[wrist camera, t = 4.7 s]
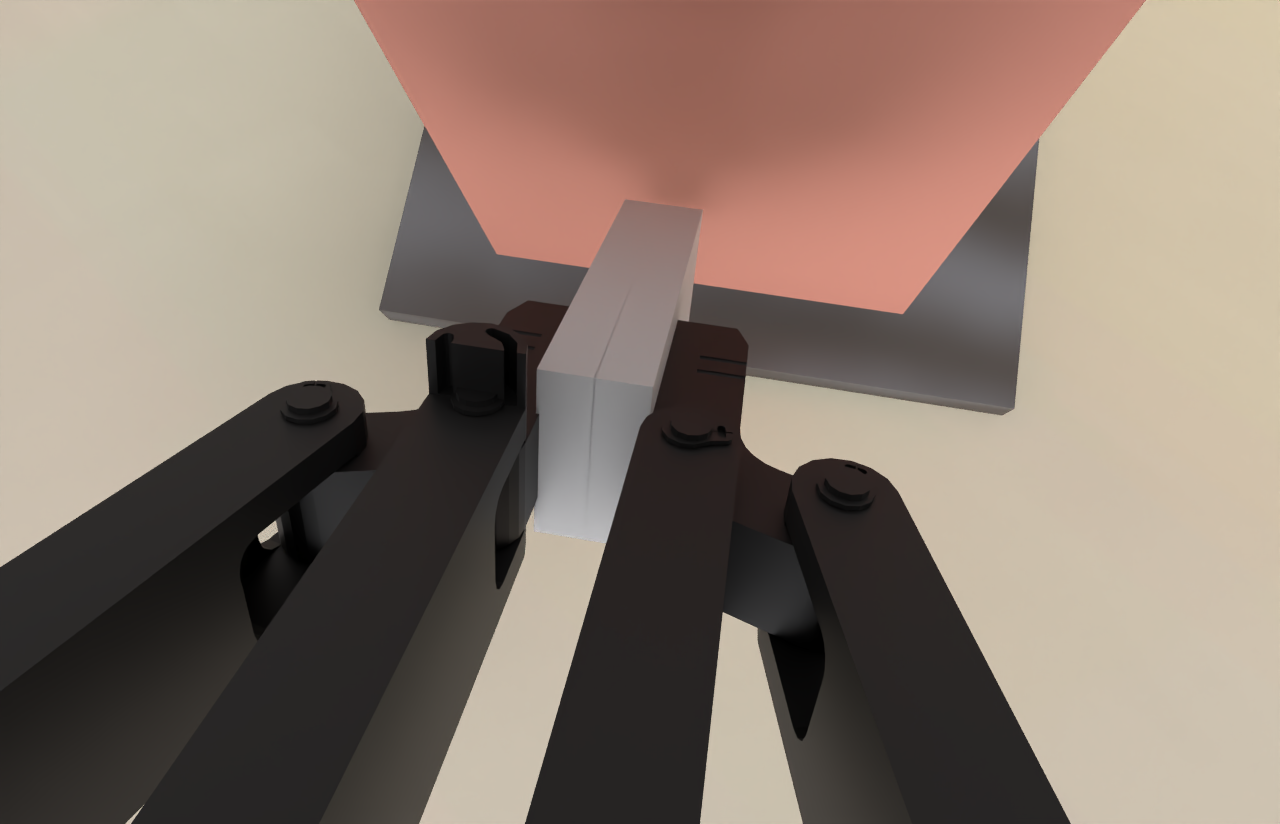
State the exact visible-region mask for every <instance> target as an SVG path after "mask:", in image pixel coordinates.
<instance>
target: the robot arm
mask: <svg viewBox="0 0 1280 824" xmlns="http://www.w3.org/2000/svg"><path fill="white" fill-rule="evenodd" d="M702 213H703V210H701V209H694V208H686V207H679V206H671V205H664V204H657V203H649V202H642V201H634V200H627V199H625V201H624V202H623V204H622V206H621V208H620V210H619V212H618V214H617V216H616V218H615V220H614V222H613V224H612V226H611V227H610V229H609V231H608V233H607V235H606V237H605V239H604V241H603V243H602V245H601V247H600V249H599V251H598V252H597V254H596V256H595V258H594V260H593V262H592V264H591V266H590V268H589V270H588V272H587V274H586V275H585V277H584V279H583V281H582V283H581V285H580V287H579V289H578V291H577V293H576V295H575V297H574V299H573V300H572V302H571V304H570V306H564V305H557V304H550V303H543V302H537V301H530V300H528V301H526V302H524V303H522V304H521V305H519V306H517V307H515V308H514V309H512V310H510V311H508V312H507V313H506V315H505V316H504V318H503V319H502V321H501V322H500V324H499V325H496V324H492V323H476V322H470V323H462V324H455V325H451V326H448V327H445V328H442V329H440V330H437V331H435V332H434V333H433V334H432V335H430V336H429V337H428V338H427V339H426V350H427V365H428V381H429V395H428V396H427V397H426V399H425V400H424V402H423V403H422V405H421V406H420V408H419V409H417V410H411V411H401V412H380V413H366V412H365V404H364V400H363V398H362V397H361V395H360V394H359V392H358V391H357V390H355V389H353V388H351V387H349V386H347V385H345V384H341V383H335V382H330V381H318V380H317V381H305V382H302V383H297V384H293V385H288V386H285V387H283V388H281V389H279V390H277V391H274V392H272V393H270V394H268V395H267V396H265V397H264V398H262V399H261V400H259V401H257V402H256V403H254V404H253V405H251V406H250V407H248V408H247V409H245V410H244V411H242V412H240V413H239V414H237V415H236V416H234V417H233V418H231V419H230V420H228V421H226V422H225V423H223V424H222V425H220V426H219V427H217V428H216V429H214V430H213V431H211V432H209V433H208V434H206V435H205V436H203V437H202V438H200V439H199V440H197V441H195V442H194V443H192V444H191V445H189V446H188V447H186V448H185V449H183V450H181V451H180V452H178V453H177V454H175V455H174V456H172V457H171V458H169V459H168V460H166V461H164V462H163V463H161V464H160V465H158V466H157V467H155V468H154V469H152V470H150V471H149V472H147V473H146V474H144V475H143V476H141V477H140V478H138V479H137V480H135V481H133V482H132V483H130V484H129V485H127V486H126V487H124V488H123V489H121V490H119V491H118V492H116V493H115V494H113V495H112V496H110V497H109V498H107V499H105V500H104V501H102V502H101V503H99V504H98V505H96V506H95V507H93V508H92V509H90V510H88V511H87V512H85V513H84V514H82V515H81V516H79V517H78V518H76V519H74V520H73V521H71V522H70V523H68V524H67V525H65V526H64V527H62V528H61V529H59V530H57V531H56V532H54V533H53V534H51V535H50V536H48V537H47V538H45V539H43V540H42V541H40V542H39V543H37V544H36V545H34V546H33V547H31V548H29V549H28V550H26V551H25V552H23V553H22V554H20V555H19V556H17V557H16V558H14V559H12V560H11V561H9V562H8V563H6V564H5V565H3V566H2V567H0V824H125V823H126V822H127V821H128V820H129V819H130V818H131V817H132V816H133V815H134V814H135V813H136V812H137V811H138V810H139V809H140V808H141V807H142V806H143V805H144V806H143V807H142V809H141V810H140V812H139V813H138V815H137V816H136V817H135V819H134V820H133V822H132V823H131V824H419V822H420V820H421V817H422V815H423V812H424V809H425V807H426V804H427V802H428V799H429V797H430V794H431V792H432V789H433V787H434V784H435V782H436V779H437V776H438V774H439V771H440V769H441V766H442V764H443V761H444V759H445V756H446V754H447V751H448V749H449V746H450V743H451V741H452V738H453V736H454V733H455V731H456V728H457V726H458V723H459V721H460V718H461V716H462V713H463V710H464V708H465V705H466V703H467V700H468V698H469V695H470V693H471V690H472V688H473V685H474V682H475V680H476V677H477V675H478V672H479V670H480V667H481V665H482V662H483V660H484V657H485V655H486V652H487V649H488V647H489V644H490V642H491V639H492V637H493V634H494V632H495V629H496V627H497V624H498V622H499V619H500V616H501V614H502V611H503V609H504V606H505V604H506V601H507V599H508V596H509V594H510V591H511V589H512V586H513V583H514V581H515V578H516V576H517V573H518V571H519V568H520V566H521V563H522V561H523V558H524V554H525V545H526V524H527V522H528V519H529V517H530V515H531V512H532V510H533V507H534V531H536V532H542V533H548V534H554V535H560V536H566V537H571V538H577V539H583V540H589V541H595V542H601V543H606V546H605V549H604V553H603V556H602V560H601V563H600V567H599V570H598V574H597V577H596V581H595V584H594V587H593V591H592V594H591V598H590V601H589V605H588V608H587V612H586V615H585V619H584V622H583V625H582V629H581V632H580V636H579V639H578V643H577V646H576V650H575V653H574V657H573V660H572V663H571V667H570V670H569V674H568V677H567V681H566V684H565V688H564V691H563V694H562V698H561V701H560V705H559V708H558V712H557V715H556V719H555V722H554V726H553V729H552V732H551V736H550V739H549V743H548V746H547V750H546V753H545V757H544V760H543V764H542V767H541V770H540V774H539V777H538V781H537V784H536V788H535V791H534V795H533V798H532V802H531V805H530V808H529V812H528V815H527V819H526V822H525V824H700V817H701V808H702V799H703V789H704V780H705V771H706V761H707V752H708V743H709V734H710V724H711V715H712V706H713V697H714V687H715V678H716V669H717V659H718V650H719V641H720V632H721V622H722V613H723V612H724V613H726V614H729V615H731V616H733V617H735V618H737V619H740V620H742V621H744V622H746V623H748V624H751V625H753V626H755V627H757V628H758V644H759V648H760V652H761V656H762V660H763V664H764V668H765V673H766V677H767V681H768V685H769V689H770V693H771V697H772V701H773V705H774V709H775V713H776V717H777V721H778V725H779V729H780V733H781V737H782V741H783V745H784V749H785V753H786V757H787V761H788V765H789V769H790V773H791V777H792V781H793V785H794V789H795V793H796V797H797V801H798V805H799V809H800V813H801V817H802V821H803V824H1071V823H1070V821H1069V819H1068V818H1067V816H1066V814H1065V812H1064V810H1063V808H1062V806H1061V804H1060V802H1059V800H1058V798H1057V796H1056V794H1055V793H1054V791H1053V789H1052V787H1051V785H1050V783H1049V781H1048V779H1047V777H1046V775H1045V773H1044V771H1043V769H1042V768H1041V766H1040V764H1039V762H1038V760H1037V758H1036V756H1035V754H1034V752H1033V750H1032V748H1031V746H1030V744H1029V743H1028V741H1027V739H1026V737H1025V735H1024V733H1023V731H1022V729H1021V727H1020V725H1019V723H1018V721H1017V719H1016V718H1015V716H1014V714H1013V712H1012V710H1011V708H1010V706H1009V704H1008V702H1007V700H1006V698H1005V696H1004V694H1003V693H1002V691H1001V689H1000V687H999V685H998V683H997V681H996V679H995V677H994V675H993V673H992V671H991V669H990V668H989V666H988V664H987V662H986V660H985V658H984V656H983V654H982V652H981V650H980V648H979V646H978V644H977V643H976V641H975V639H974V637H973V635H972V633H971V631H970V629H969V627H968V625H967V623H966V621H965V619H964V618H963V616H962V614H961V612H960V610H959V608H958V606H957V604H956V602H955V600H954V598H953V596H952V594H951V593H950V591H949V589H948V587H947V585H946V583H945V581H944V579H943V577H942V575H941V573H940V571H939V569H938V568H937V566H936V564H935V562H934V560H933V558H932V556H931V554H930V552H929V550H928V548H927V546H926V544H925V543H924V541H923V539H922V537H921V535H920V533H919V531H918V529H917V527H916V525H915V523H914V521H913V519H912V518H911V516H910V514H909V512H908V510H907V508H906V506H905V504H904V502H903V500H902V498H901V496H900V495H899V493H898V491H897V490H896V489H895V487H894V486H893V485H892V484H891V483H890V481H889V480H888V479H887V478H885V477H884V476H882V475H881V474H879V473H878V472H876V471H875V470H873V469H872V468H869V467H867V466H864V465H861V464H858V463H856V462H853V461H848V460H840V459H833V458H829V459H820V460H812V461H810V462H808V463H806V464H804V465H802V466H800V467H799V468H798V469H797V470H796V472H795V473H794V475H791V474H788V473H785V472H783V471H780V470H778V469H776V468H773V467H771V466H769V465H767V464H765V463H763V462H762V461H761V460H759V459H758V458H756V457H755V456H753V454H752V453H751V452H750V451H749V450H748V449H747V448H746V447H745V445H744V443H743V441H742V439H741V435H740V423H741V414H742V405H743V395H744V386H745V377H746V367H747V358H748V349H749V345H748V343H747V342H746V340H745V339H744V337H743V336H742V334H741V333H740V331H739V330H738V329H736V328H730V327H723V326H716V325H709V324H702V323H695V322H689V315H690V307H691V299H692V292H693V284H694V276H695V268H696V260H697V252H698V244H699V236H700V229H701V221H702ZM275 520H276V523H277V528H278V532H277V533H276V534H275V535H274V536H272V537H271V538H270V539H269V540H267V541H265V542H263V543H260V542H259V539H258V534H259V533H260V532H262V531H263V530H264V529H265V528H266V527H268V526H269V525H270V524H271V523H273V522H274V521H275Z"/></svg>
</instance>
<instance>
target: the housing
mask: <svg viewBox="0 0 1280 824" xmlns="http://www.w3.org/2000/svg"><path fill="white" fill-rule="evenodd" d="M1038 144H1039V139H1038V140H1037V142H1036V143H1035V144H1034V145H1033V147H1032V148H1031V149H1030V151H1029V152H1028V153H1027V154H1026V156H1025V157H1024V158H1023V160H1022V161H1021V162H1020V164H1019V165H1018V166H1017V167H1016V169H1015V170H1014V171H1013V173H1012V174H1011V175H1010V176H1009V178H1008V179H1007V180H1006V182H1005V183H1004V184H1003V185H1002V187H1001V188H1000V189H999V191H998V192H997V193H996V195H995V196H994V197H993V198H992V200H991V201H990V202H989V204H988V205H987V206H986V207H985V209H984V210H983V211H982V213H981V214H980V215H979V217H978V218H977V219H976V220H975V222H974V223H973V224H972V226H971V227H970V228H969V229H968V231H967V232H966V233H965V235H964V236H963V237H962V238H961V240H960V241H959V242H958V244H957V245H956V246H955V248H954V249H953V250H952V251H951V253H950V254H949V255H948V257H947V258H946V259H945V260H944V262H943V263H942V264H941V266H940V267H939V268H938V270H937V271H936V272H935V273H934V275H933V276H932V277H931V279H930V280H929V281H928V282H927V284H926V285H925V286H924V288H923V289H922V290H921V291H920V293H919V294H918V295H917V297H916V298H915V299H914V301H913V302H912V303H911V304H910V306H909V307H908V308H907V310H906V311H905V312H904V313H903V314H898V313H891V312H884V311H878V310H871V309H864V308H857V307H851V306H844V305H837V304H830V303H823V302H817V301H810V300H803V299H796V298H790V297H783V296H776V295H769V294H763V293H756V292H749V291H742V290H735V289H729V288H722V287H715V286H708V285H702V284H695V283H694V284H693V292H692V299H691V307H690V315H689V322H695V323H702V324H709V325H716V326H723V327H730V328H736V329H738V330H739V331H740V333H741V334H742V336H743V337H744V339H745V340H746V342H747V343H748V345H749V349H748V358H747V367H746V375H748V376H754V377H761V378H767V379H774V380H780V381H786V382H793V383H799V384H805V385H812V386H818V387H825V388H831V389H837V390H844V391H850V392H857V393H863V394H869V395H876V396H882V397H889V398H895V399H901V400H908V401H914V402H921V403H927V404H933V405H940V406H946V407H953V408H959V409H965V410H972V411H978V412H984V413H991V414H997V415H1004V414H1006V413H1007V412H1009V411H1011V410H1013V409H1014V407H1015V396H1016V385H1017V374H1018V363H1019V352H1020V341H1021V330H1022V319H1023V308H1024V297H1025V286H1026V275H1027V264H1028V253H1029V243H1030V232H1031V221H1032V210H1033V199H1034V188H1035V177H1036V166H1037V155H1038ZM588 270H589V268H586V267H580V266H573V265H566V264H559V263H553V262H546V261H539V260H532V259H526V258H519V257H512V256H505V255H498V254H496V252H495V250H494V248H493V247H492V245H491V243H490V241H489V240H488V238H487V236H486V234H485V232H484V231H483V229H482V227H481V225H480V223H479V222H478V220H477V218H476V216H475V215H474V213H473V211H472V209H471V207H470V206H469V204H468V202H467V200H466V199H465V197H464V195H463V193H462V191H461V190H460V188H459V186H458V184H457V183H456V181H455V179H454V177H453V175H452V174H451V172H450V170H449V168H448V167H447V165H446V163H445V161H444V159H443V158H442V156H441V154H440V152H439V150H438V149H437V147H436V145H435V143H434V142H433V140H432V138H431V136H430V134H429V133H428V131H427V129H426V127H425V126H424V130H423V134H422V139H421V143H420V147H419V151H418V155H417V159H416V163H415V167H414V171H413V175H412V179H411V183H410V187H409V191H408V195H407V199H406V203H405V207H404V211H403V215H402V219H401V223H400V227H399V231H398V235H397V239H396V243H395V247H394V251H393V255H392V259H391V263H390V267H389V271H388V275H387V280H386V284H385V288H384V292H383V296H382V300H381V304H380V308H379V310H380V311H381V312H382V313H383V314H384V315H385V316H386V317H387V318H389V319H390V320H396V321H403V322H409V323H416V324H422V325H428V326H435V327H441V328H445V327H448V326H451V325H455V324H462V323H470V322H476V323H492V324H496V325H499V324H500V322H501V321H502V319H503V318H504V316H505V315H506V313H507V312H508V311H510V310H512V309H514V308H515V307H517V306H519V305H521V304H522V303H524V302H526V301H528V300H530V301H537V302H543V303H550V304H557V305H564V306H570V304H571V302H572V300H573V299H574V297H575V295H576V293H577V291H578V289H579V287H580V285H581V283H582V281H583V279H584V277H585V275H586V274H587V272H588Z"/></svg>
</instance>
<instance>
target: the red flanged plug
mask: <svg viewBox="0 0 1280 824" xmlns="http://www.w3.org/2000/svg"><path fill="white" fill-rule="evenodd" d="M354 1H355V3H356V4H357V6H358V8H359V10H360V12H361V13H362V15H363V17H364V19H365V21H366V22H367V24H368V26H369V28H370V29H371V31H372V33H373V35H374V37H375V38H376V40H377V42H378V44H379V45H380V47H381V49H382V51H383V53H384V54H385V56H386V58H387V60H388V61H389V63H390V65H391V67H392V69H393V70H394V72H395V74H396V76H397V77H398V79H399V81H400V83H401V85H402V86H403V88H404V90H405V92H406V94H407V95H408V97H409V99H410V101H411V102H412V104H413V106H414V108H415V110H416V111H417V113H418V115H419V117H420V118H421V120H422V122H423V124H424V126H425V127H426V129H427V131H428V133H429V134H430V136H431V138H432V140H433V142H434V143H435V145H436V147H437V149H438V150H439V152H440V154H441V156H442V158H443V159H444V161H445V163H446V165H447V167H448V168H449V170H450V172H451V174H452V175H453V177H454V179H455V181H456V183H457V184H458V186H459V188H460V190H461V191H462V193H463V195H464V197H465V199H466V200H467V202H468V204H469V206H470V207H471V209H472V211H473V213H474V215H475V216H476V218H477V220H478V222H479V223H480V225H481V227H482V229H483V231H484V232H485V234H486V236H487V238H488V240H489V241H490V243H491V245H492V247H493V248H494V250H495V252H496V254H498V255H505V256H512V257H519V258H526V259H532V260H539V261H546V262H553V263H559V264H566V265H573V266H580V267H586V268H590V266H591V264H592V262H593V260H594V258H595V256H596V254H597V252H598V251H599V249H600V247H601V245H602V243H603V241H604V239H605V237H606V235H607V233H608V231H609V229H610V227H611V226H612V224H613V222H614V220H615V218H616V216H617V214H618V212H619V210H620V208H621V206H622V204H623V202H624V201H625V199H627V200H634V201H642V202H649V203H657V204H664V205H671V206H679V207H686V208H694V209H701V210H703V213H702V221H701V229H700V236H699V244H698V252H697V260H696V268H695V276H694V283H695V284H702V285H708V286H715V287H722V288H729V289H735V290H742V291H749V292H756V293H763V294H769V295H776V296H783V297H790V298H796V299H803V300H810V301H817V302H823V303H830V304H837V305H844V306H851V307H857V308H864V309H871V310H878V311H884V312H891V313H898V314H903V313H904V312H905V311H906V310H907V308H908V307H909V306H910V304H911V303H912V302H913V301H914V299H915V298H916V297H917V295H918V294H919V293H920V291H921V290H922V289H923V288H924V286H925V285H926V284H927V282H928V281H929V280H930V279H931V277H932V276H933V275H934V273H935V272H936V271H937V270H938V268H939V267H940V266H941V264H942V263H943V262H944V260H945V259H946V258H947V257H948V255H949V254H950V253H951V251H952V250H953V249H954V248H955V246H956V245H957V244H958V242H959V241H960V240H961V238H962V237H963V236H964V235H965V233H966V232H967V231H968V229H969V228H970V227H971V226H972V224H973V223H974V222H975V220H976V219H977V218H978V217H979V215H980V214H981V213H982V211H983V210H984V209H985V207H986V206H987V205H988V204H989V202H990V201H991V200H992V198H993V197H994V196H995V195H996V193H997V192H998V191H999V189H1000V188H1001V187H1002V185H1003V184H1004V183H1005V182H1006V180H1007V179H1008V178H1009V176H1010V175H1011V174H1012V173H1013V171H1014V170H1015V169H1016V167H1017V166H1018V165H1019V164H1020V162H1021V161H1022V160H1023V158H1024V157H1025V156H1026V154H1027V153H1028V152H1029V151H1030V149H1031V148H1032V147H1033V145H1034V144H1035V143H1036V142H1037V140H1038V139H1039V138H1040V136H1041V135H1042V134H1043V132H1044V131H1045V130H1046V129H1047V127H1048V126H1049V125H1050V123H1051V122H1052V121H1053V120H1054V118H1055V117H1056V116H1057V114H1058V113H1059V112H1060V111H1061V109H1062V108H1063V107H1064V105H1065V104H1066V103H1067V101H1068V100H1069V99H1070V98H1071V96H1072V95H1073V94H1074V92H1075V91H1076V90H1077V89H1078V87H1079V86H1080V85H1081V83H1082V82H1083V81H1084V79H1085V78H1086V77H1087V76H1088V74H1089V73H1090V72H1091V70H1092V69H1093V68H1094V67H1095V65H1096V64H1097V63H1098V61H1099V60H1100V59H1101V58H1102V56H1103V55H1104V54H1105V52H1106V51H1107V50H1108V48H1109V47H1110V46H1111V45H1112V43H1113V42H1114V41H1115V39H1116V38H1117V37H1118V36H1119V34H1120V33H1121V32H1122V30H1123V29H1124V28H1125V26H1126V25H1127V24H1128V23H1129V21H1130V20H1131V19H1132V17H1133V16H1134V15H1135V14H1136V12H1137V11H1138V10H1139V8H1140V7H1141V6H1142V5H1143V3H1144V2H1145V1H1146V0H354Z"/></svg>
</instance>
